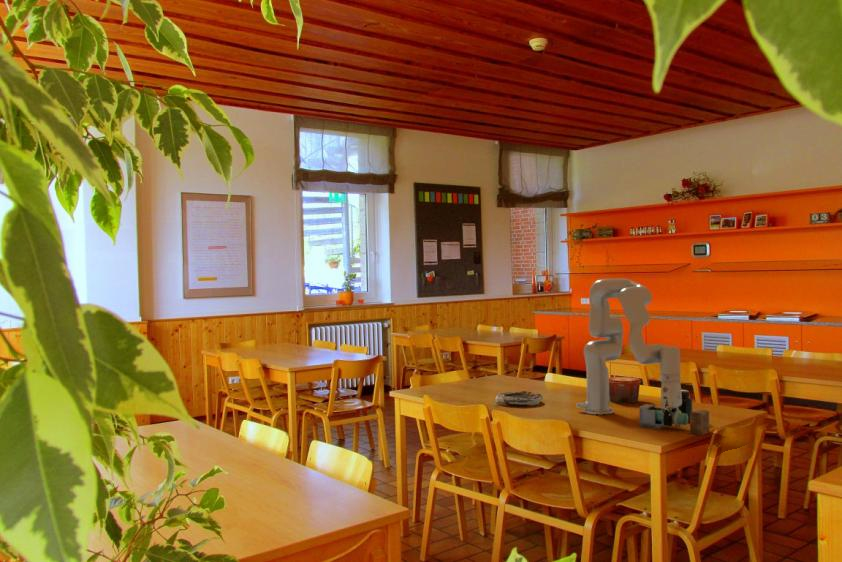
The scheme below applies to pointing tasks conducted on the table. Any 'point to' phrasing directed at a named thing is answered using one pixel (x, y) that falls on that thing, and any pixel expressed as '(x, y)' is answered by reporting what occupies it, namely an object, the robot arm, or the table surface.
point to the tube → (673, 417)
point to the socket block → (699, 422)
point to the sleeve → (649, 417)
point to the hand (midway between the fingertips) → (671, 423)
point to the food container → (624, 389)
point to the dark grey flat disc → (518, 399)
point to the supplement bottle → (686, 403)
